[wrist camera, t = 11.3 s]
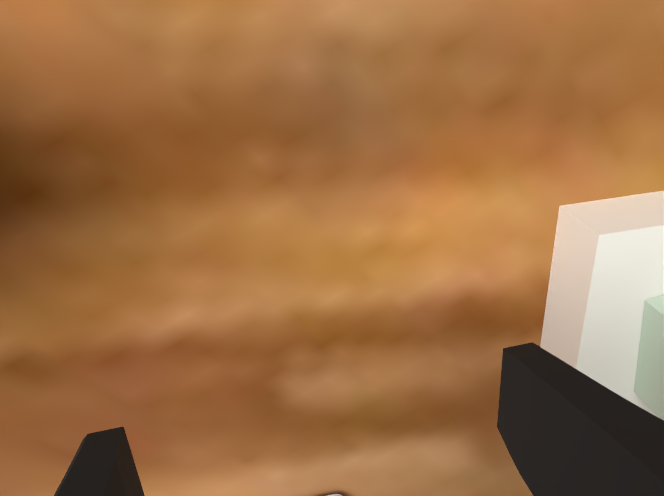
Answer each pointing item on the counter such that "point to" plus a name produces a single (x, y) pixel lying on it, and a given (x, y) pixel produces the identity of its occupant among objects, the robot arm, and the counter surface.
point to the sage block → (651, 357)
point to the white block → (604, 286)
